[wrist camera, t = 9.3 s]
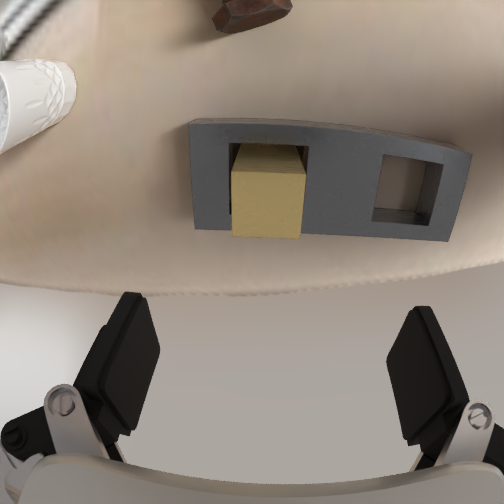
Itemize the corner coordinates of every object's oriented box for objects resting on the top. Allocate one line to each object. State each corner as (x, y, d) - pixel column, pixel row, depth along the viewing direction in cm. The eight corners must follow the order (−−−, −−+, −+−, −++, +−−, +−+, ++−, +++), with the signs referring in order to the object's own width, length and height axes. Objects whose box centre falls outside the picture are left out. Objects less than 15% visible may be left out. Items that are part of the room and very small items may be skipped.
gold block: (295, 145, 25) (306, 174, 18) (291, 193, 27) (299, 238, 20) (241, 143, 25) (231, 171, 18) (241, 191, 27) (232, 236, 20)
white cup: (79, 131, 24) (11, 165, 16) (24, 128, 23) (-42, 160, 15) (87, 52, 20) (13, 56, 11) (28, 57, 19) (-43, 70, 11)
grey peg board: (455, 145, 23) (472, 154, 20) (435, 227, 28) (448, 241, 25) (197, 118, 24) (188, 124, 21) (201, 213, 28) (194, 229, 26)
